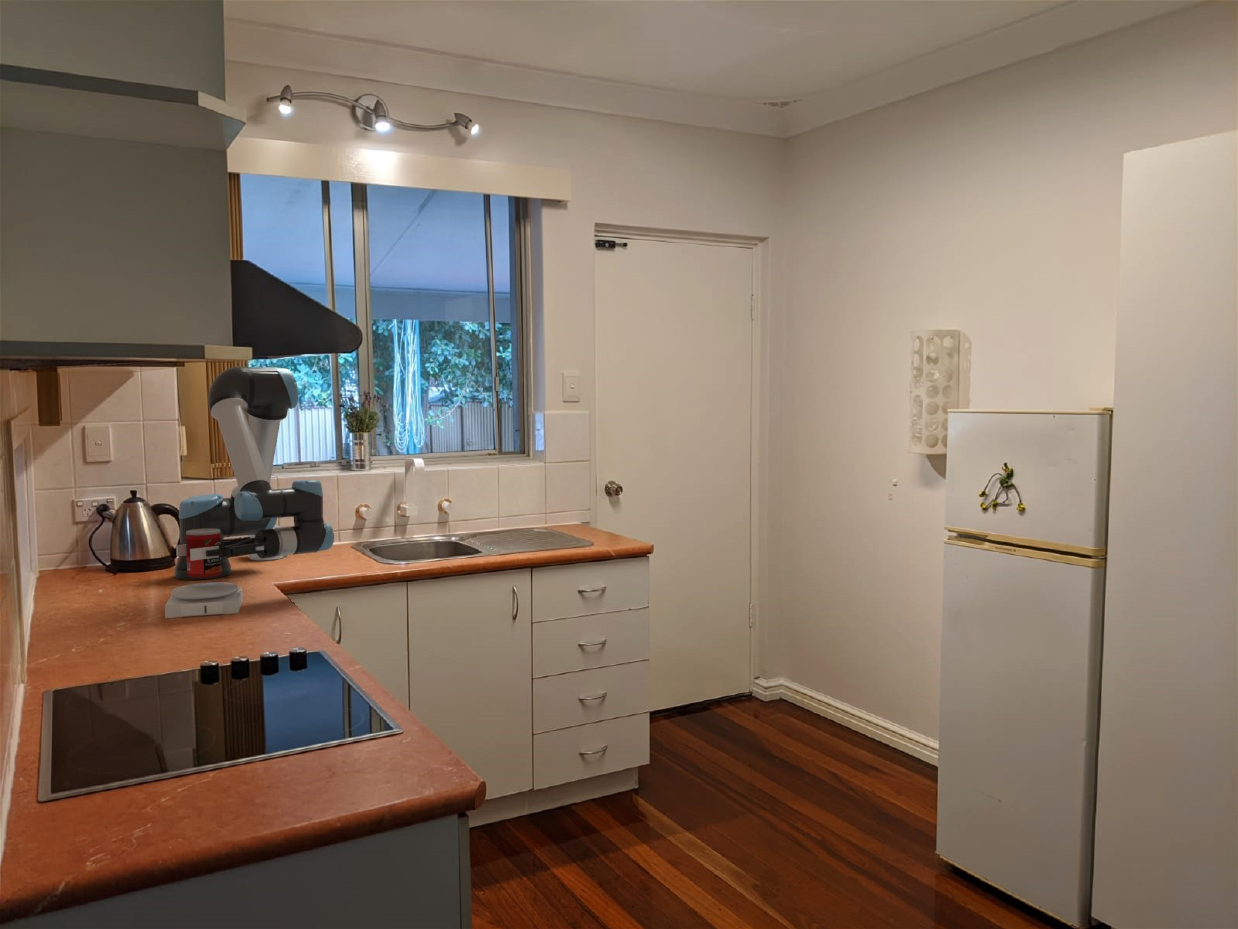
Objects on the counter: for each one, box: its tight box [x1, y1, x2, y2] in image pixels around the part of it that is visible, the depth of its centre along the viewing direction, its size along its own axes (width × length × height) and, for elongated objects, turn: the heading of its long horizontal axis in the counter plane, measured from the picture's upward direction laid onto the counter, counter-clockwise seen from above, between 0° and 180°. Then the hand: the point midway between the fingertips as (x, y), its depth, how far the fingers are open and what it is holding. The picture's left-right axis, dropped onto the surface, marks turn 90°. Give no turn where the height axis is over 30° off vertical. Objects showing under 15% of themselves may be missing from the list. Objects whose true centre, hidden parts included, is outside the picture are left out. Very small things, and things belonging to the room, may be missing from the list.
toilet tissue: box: [247, 524, 285, 561], centre depth 301 cm, size 11×12×10 cm
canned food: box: [186, 528, 222, 577], centre depth 227 cm, size 8×8×11 cm
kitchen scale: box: [164, 581, 244, 619], centre depth 228 cm, size 17×16×5 cm
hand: (183, 552), depth 224 cm, fingers closed on canned food, 8 cm apart
